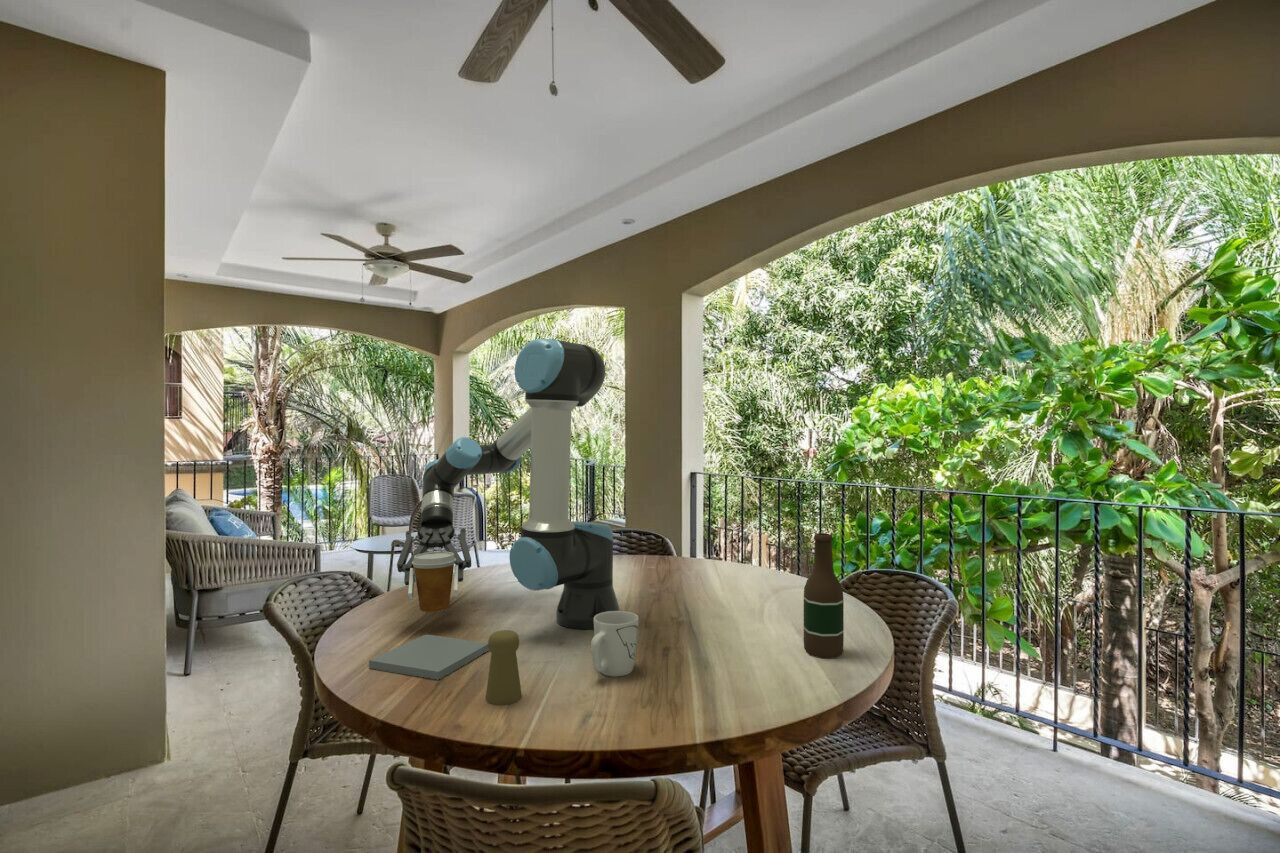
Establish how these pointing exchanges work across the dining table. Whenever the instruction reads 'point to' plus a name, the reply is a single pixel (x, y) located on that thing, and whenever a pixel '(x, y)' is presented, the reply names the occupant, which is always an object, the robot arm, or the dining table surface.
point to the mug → (614, 642)
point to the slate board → (429, 656)
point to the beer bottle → (823, 604)
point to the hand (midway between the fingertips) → (433, 594)
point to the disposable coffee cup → (434, 579)
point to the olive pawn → (503, 669)
